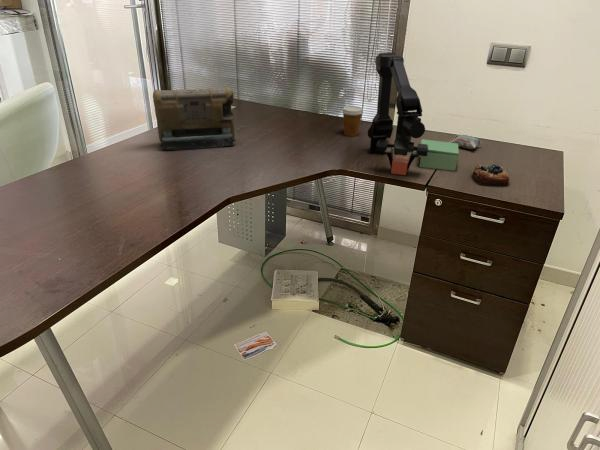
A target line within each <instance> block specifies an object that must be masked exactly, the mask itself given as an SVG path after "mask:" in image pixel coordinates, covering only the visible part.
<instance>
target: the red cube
mask: <svg viewBox="0 0 600 450" xmlns="http://www.w3.org/2000/svg"><path fill="white" fill-rule="evenodd" d="M409 158H410V157H406V156H399V155H393V161H392V169H391V168H390V174H392V175H400V176H407V173H408V170H407V165H408V162H409Z"/></svg>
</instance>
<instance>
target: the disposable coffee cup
mask: <svg viewBox="0 0 600 450" xmlns="http://www.w3.org/2000/svg"><path fill="white" fill-rule="evenodd" d="M341 112H342V115H343V116H342V118H343V132H344V135H345V136H348V137H356V136H358V135H359V130H360V125H361V121H362V116H363V113H364V110H363V108H362V107H360V106H355V105H349V106H344V107H343V108H342V110H341Z"/></svg>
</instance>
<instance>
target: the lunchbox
mask: <svg viewBox="0 0 600 450" xmlns="http://www.w3.org/2000/svg"><path fill="white" fill-rule="evenodd" d="M458 160H459V154H458V155H452V154H444V153H436V152H429V151H428V153H427V156H420V160H419V168H427V169H435V170H443V171H444V170H445V171H453V172H455V171H456V170H457V169H456V168H457V165H458Z"/></svg>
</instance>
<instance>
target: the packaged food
mask: <svg viewBox="0 0 600 450" xmlns="http://www.w3.org/2000/svg"><path fill="white" fill-rule="evenodd" d="M448 142H449V143H457V144H458V148H462V149H467V150H473V149H476V147H479V146H480V145H482V144H483V142H482V141H481V140H480V139H479V137H475V136H472V135H467V134H459V135H457V137H455V138H454V139H453V140H450V141H448Z"/></svg>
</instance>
